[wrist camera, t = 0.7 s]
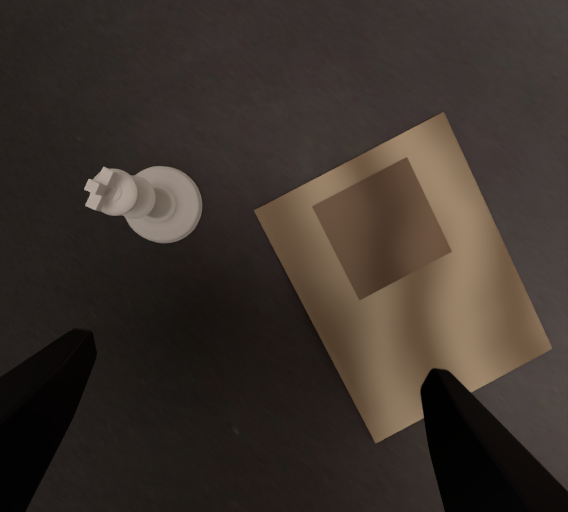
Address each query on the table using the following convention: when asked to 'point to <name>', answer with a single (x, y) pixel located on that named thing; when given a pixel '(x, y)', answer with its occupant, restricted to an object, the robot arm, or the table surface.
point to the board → (404, 274)
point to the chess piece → (149, 201)
